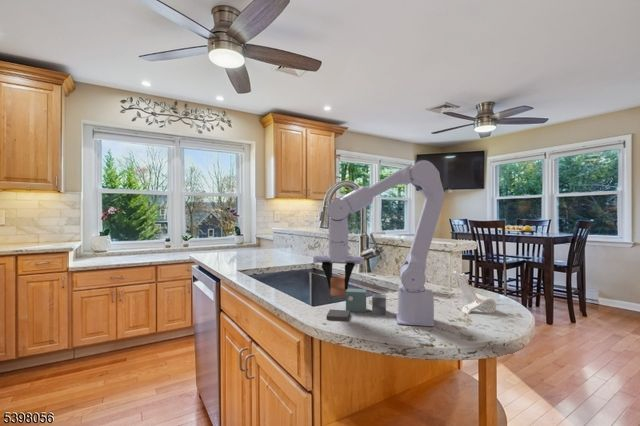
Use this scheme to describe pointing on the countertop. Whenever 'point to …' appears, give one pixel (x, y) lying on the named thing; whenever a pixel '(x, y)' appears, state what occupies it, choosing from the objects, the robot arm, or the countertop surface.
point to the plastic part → (474, 297)
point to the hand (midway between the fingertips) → (338, 288)
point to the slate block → (379, 304)
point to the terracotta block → (338, 285)
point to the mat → (338, 315)
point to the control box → (356, 300)
